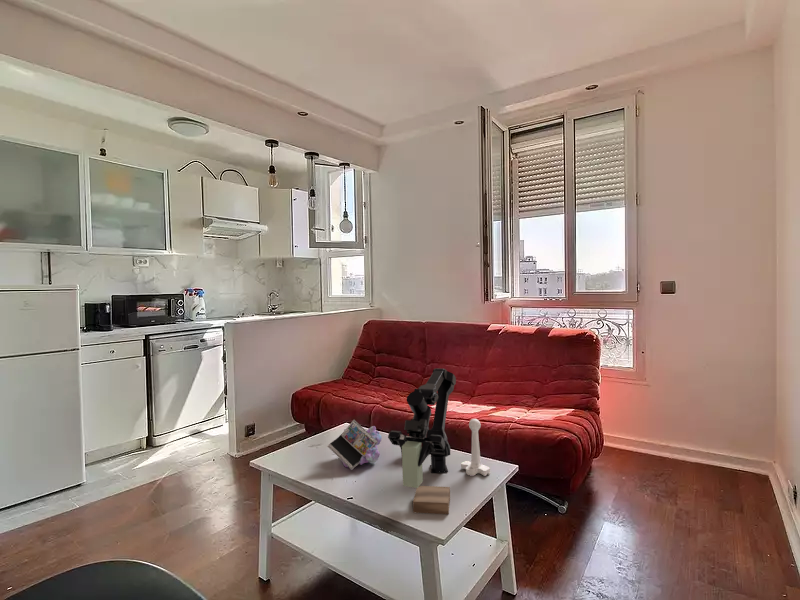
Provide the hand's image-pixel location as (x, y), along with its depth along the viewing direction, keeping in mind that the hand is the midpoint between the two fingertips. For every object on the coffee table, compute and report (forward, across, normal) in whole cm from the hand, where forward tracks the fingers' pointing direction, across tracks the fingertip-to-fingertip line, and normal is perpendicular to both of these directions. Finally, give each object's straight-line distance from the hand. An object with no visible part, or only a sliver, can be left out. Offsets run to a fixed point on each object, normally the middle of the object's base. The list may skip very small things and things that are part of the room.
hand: (410, 465), depth 138 cm
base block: (+8, +6, +11) cm, 15 cm away
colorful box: (-9, -34, +29) cm, 46 cm away
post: (+4, 0, +6) cm, 7 cm away
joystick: (-12, +14, +32) cm, 37 cm away
